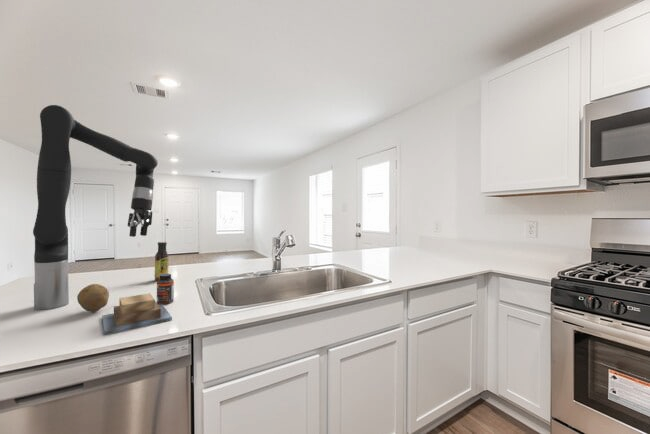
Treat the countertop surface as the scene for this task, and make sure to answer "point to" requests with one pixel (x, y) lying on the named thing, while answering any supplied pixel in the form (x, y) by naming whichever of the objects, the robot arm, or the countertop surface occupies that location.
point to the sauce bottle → (161, 260)
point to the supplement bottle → (165, 289)
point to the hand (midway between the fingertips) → (137, 236)
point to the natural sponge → (93, 297)
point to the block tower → (135, 314)
